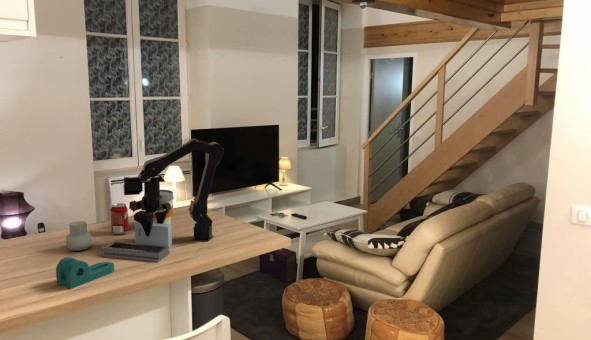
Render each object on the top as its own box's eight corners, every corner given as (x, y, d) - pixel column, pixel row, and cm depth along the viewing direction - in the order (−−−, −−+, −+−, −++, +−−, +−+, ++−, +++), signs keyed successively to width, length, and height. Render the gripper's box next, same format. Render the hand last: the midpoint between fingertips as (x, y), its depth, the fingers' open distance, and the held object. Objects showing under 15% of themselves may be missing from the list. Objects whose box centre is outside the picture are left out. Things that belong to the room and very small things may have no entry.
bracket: (70, 289, 149) (69, 265, 148) (56, 284, 153) (55, 260, 151) (118, 270, 165) (117, 248, 163) (105, 266, 168) (103, 244, 167)
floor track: (169, 253, 181) (169, 245, 181) (158, 262, 172) (157, 254, 172) (116, 248, 186) (115, 240, 185) (101, 256, 177) (101, 248, 176)
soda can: (123, 236, 200) (121, 207, 198) (108, 234, 202) (106, 206, 200) (131, 231, 207) (130, 203, 205) (117, 229, 208) (116, 202, 206)
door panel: (172, 244, 192) (171, 224, 190) (168, 247, 189) (167, 226, 187) (139, 241, 194) (138, 221, 193) (135, 243, 192) (134, 224, 190)
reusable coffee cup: (170, 230, 208) (169, 196, 206) (140, 230, 208) (139, 195, 206) (177, 222, 221) (176, 189, 218) (149, 221, 221) (148, 189, 218)
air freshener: (93, 251, 182) (91, 225, 180) (68, 254, 178) (67, 228, 176) (89, 242, 192) (88, 217, 190) (66, 245, 188) (64, 220, 186)
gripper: (145, 187, 199) (146, 224, 201) (119, 197, 181) (121, 238, 183) (170, 188, 196) (172, 226, 199) (147, 199, 178) (149, 240, 181)
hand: (153, 232), depth 191 cm, fingers open, 9 cm apart
